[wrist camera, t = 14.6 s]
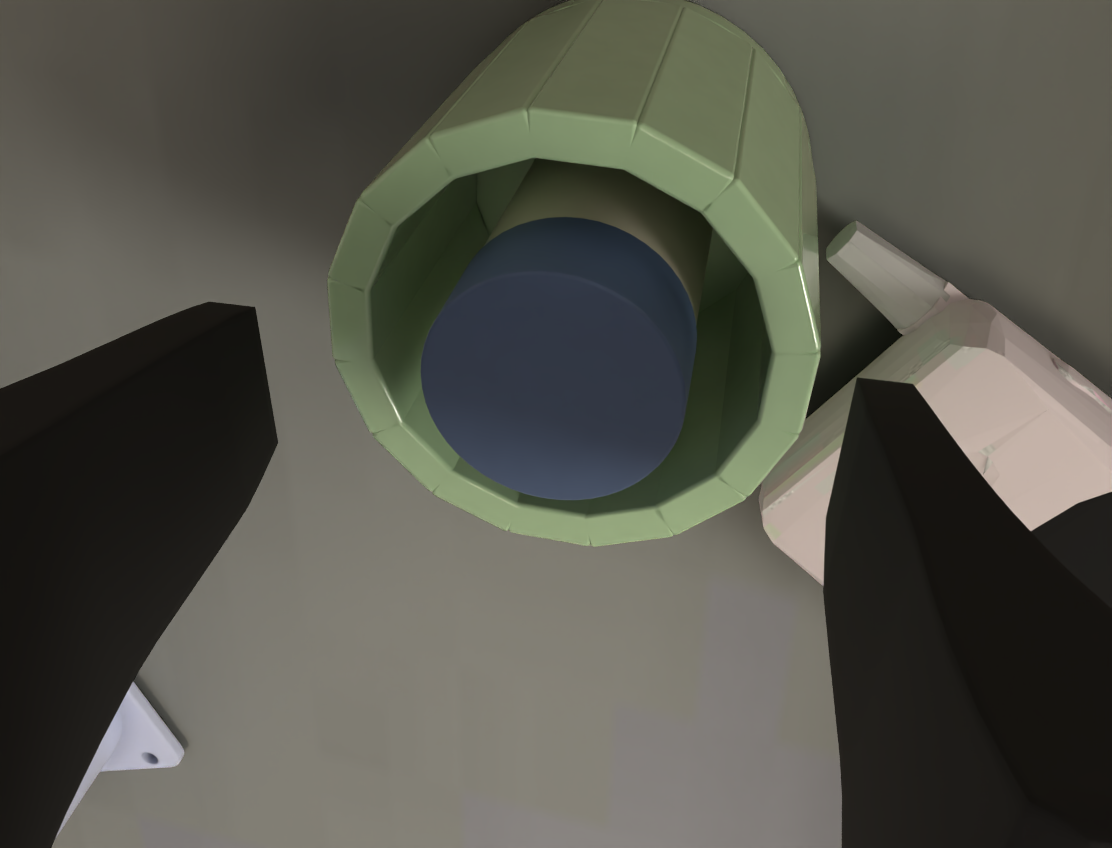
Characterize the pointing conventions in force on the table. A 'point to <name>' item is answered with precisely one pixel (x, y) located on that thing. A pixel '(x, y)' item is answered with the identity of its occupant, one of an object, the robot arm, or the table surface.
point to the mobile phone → (962, 416)
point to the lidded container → (571, 335)
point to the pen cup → (651, 155)
